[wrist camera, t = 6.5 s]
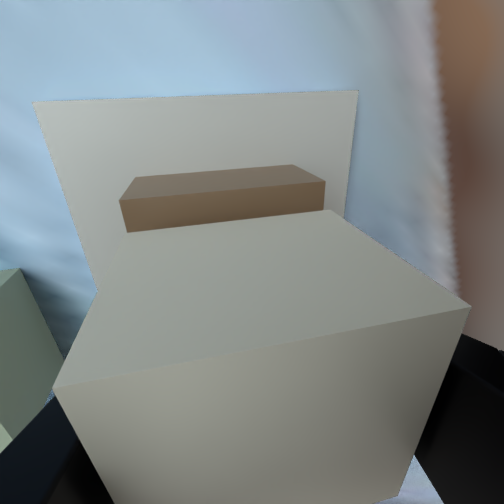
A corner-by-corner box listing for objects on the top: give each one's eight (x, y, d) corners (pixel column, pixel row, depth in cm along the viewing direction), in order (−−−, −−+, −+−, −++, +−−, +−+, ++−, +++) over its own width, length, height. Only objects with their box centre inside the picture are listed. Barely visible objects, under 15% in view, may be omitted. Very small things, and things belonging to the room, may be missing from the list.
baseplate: (323, 308, 16) (361, 362, 13) (124, 343, 15) (106, 416, 11) (345, 91, 11) (415, 84, 8) (45, 102, 10) (-35, 98, 6)
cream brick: (317, 351, 11) (397, 495, 7) (165, 382, 10) (152, 572, 6) (330, 209, 8) (471, 306, 4) (125, 233, 7) (51, 388, 3)
